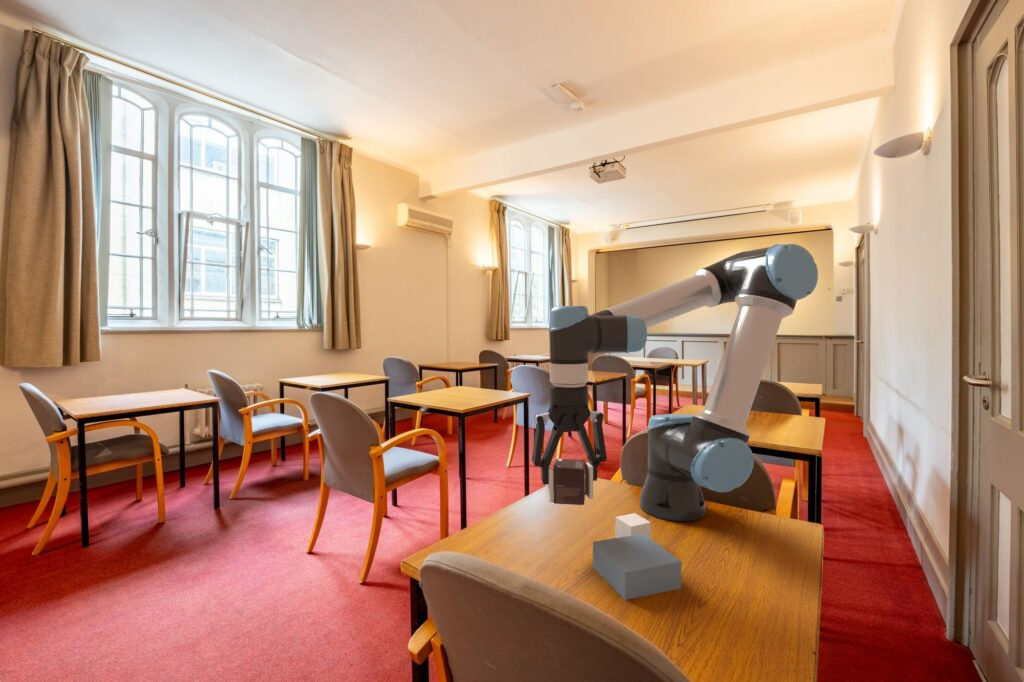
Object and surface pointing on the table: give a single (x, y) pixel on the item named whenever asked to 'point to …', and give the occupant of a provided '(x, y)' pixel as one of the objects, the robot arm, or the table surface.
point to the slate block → (636, 566)
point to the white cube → (631, 525)
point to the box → (569, 481)
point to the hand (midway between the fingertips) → (569, 497)
